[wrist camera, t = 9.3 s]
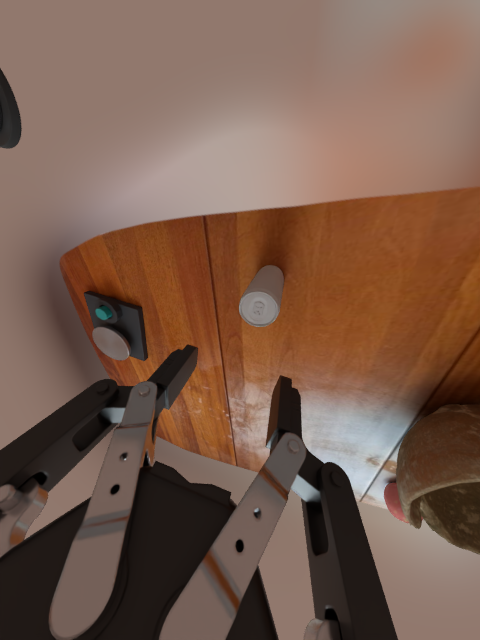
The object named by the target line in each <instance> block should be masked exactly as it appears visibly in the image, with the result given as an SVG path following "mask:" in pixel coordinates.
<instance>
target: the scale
mask: <svg viewBox="0 0 480 640" xmlns="http://www.w3.org/2000/svg"><path fill="white" fill-rule="evenodd" d="M84 296H85V299H86V302H87V306H88V309H89V312H90V316H91V319H92V322H93V326H94V329H95V328H97V327H99V326H109V327H112V328H114V329H115V330H117V331H118V332H120V333H121V334H122V335H123V336H124V337H125V338H126V340H127V341H128V343H129V345H130V348H131V354H130V356H131V357H134V358H137V359H140V360H143V361H145V360H146V359H147V358H148V355H147V346H146V338H145V329H144V321H143V313H142V307H139V306H136V305H133V304H130V303H126V302H123V301H120V300H117V299H114V298H111V297H107V296H104V295H101V294H98V293H95V292H91V291H87V292H85V293H84ZM102 306H107V307H108V308H109V309H110V310H111V312H112V316H111V317H109V318H108V319H106V320H102V319H100V318H99V317H98V316H97V315H96V312H95V311H96V309H97V308H99V307H102Z"/></svg>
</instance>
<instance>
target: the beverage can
mask: <svg viewBox="0 0 480 640" xmlns="http://www.w3.org/2000/svg"><path fill="white" fill-rule="evenodd" d="M283 285H284V276H283V273H282V271H281V270H280V269H279V268H278V267H276V266H273V265H267V266H264V267H263V268H261V269H260V270H259V271H258V273H257V274H256V276H255V277H254V279H253V280H252V282H251V283H250V285H249V286H248V288H247V289H246V291H245V292H244V294H243V295H242V297H241V300H240V304H239V311H240V315H241V316H242V318H243V319H244V320H245V321H246V322H247V323H249V324H250V325H253V326H257V327H264V326H267V325H269V324H271V323H273V321H274V320H275V319H276V317H277V316H278V314H279V311H280V305H281V298H282V292H283Z"/></svg>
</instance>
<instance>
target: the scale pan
mask: <svg viewBox="0 0 480 640" xmlns="http://www.w3.org/2000/svg"><path fill="white" fill-rule="evenodd" d="M93 339H94V342H95V343H96V345H97V346H98V348H99V349H100V350H101V351H102V352H103V353H105V354H106V355H107V356H109V357H111V358H113V359H116V360H124V359H126V358H128V357H129V356H130V354H131V348H130V345H129V343H128V341H127V340H126V338H125V337H124V336H123V335H122V334H121V333H120V332H118V331H117V330H115V329H114V328H112V327H109V326H99V327H97V328H95V329H94V330H93Z"/></svg>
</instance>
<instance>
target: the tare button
mask: <svg viewBox="0 0 480 640" xmlns="http://www.w3.org/2000/svg"><path fill="white" fill-rule="evenodd" d="M95 312H96V315H97V316H98V317H99V318H100V319H102V320H106V319H108V318H109V317H111V316H112V312H111V310H110V309H109V308H108V307H107V306H102V307H99V308H97V309H96V311H95Z"/></svg>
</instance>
